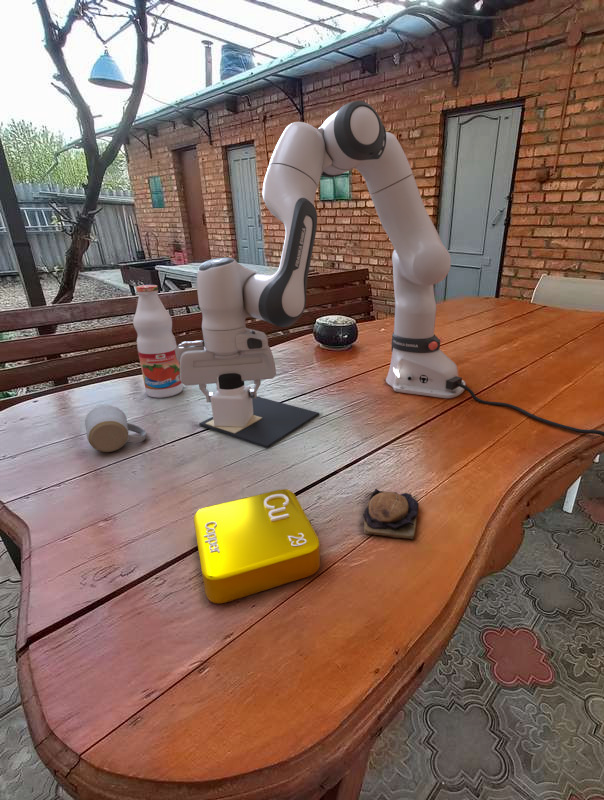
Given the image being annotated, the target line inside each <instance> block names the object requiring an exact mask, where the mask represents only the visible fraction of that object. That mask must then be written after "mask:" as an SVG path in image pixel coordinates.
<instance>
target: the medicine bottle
mask: <svg viewBox="0 0 604 800" xmlns="http://www.w3.org/2000/svg"><path fill="white" fill-rule="evenodd" d="M217 379H218V383H215V385H216V386H215V387H216V391H215V392H213V395H212V396H211V402H210V405H211V412H212V417H213V420H214V425H215V426H228V427H245V426H246V425H247V423H248V421H249V420H250V418H251V417H252V415H253V404H252V398H250V389H252V386H249V385H245V381H242V379H241V375H240V374H237V373H228V374H222V375H219V376H218V377H217Z"/></svg>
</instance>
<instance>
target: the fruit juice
mask: <svg viewBox="0 0 604 800" xmlns="http://www.w3.org/2000/svg"><path fill="white" fill-rule="evenodd" d="M135 292H136V293H137V294H138V298H137V305H136V310H135V313H134V315H133V319H132V323H133V328H134V330H135V332H136V334H137V338H136V349H137V353H138V358H139V363H140V368H141V374H142V379H143V383H144V389H145V393H146V394H147V396H148V397H151V398H156V399H157V398H161V399H162V398H168V397H173V396H176V395H178V394H180V393H181V392H182V391H183V389H184V384H183V383H182V382H181V380H180V362H179V361H178V360H177V359H176V354H175V349H176V347H177V346H178V345H177V340H176V336H175V335H174V334H173V318H172V317H171V314H170V313H169V312H168V311H167V309H166V308H165V306H164V304H163V302H162V300H161V298H160V296H159V294H158V293H159V287H158V285H156V284H143V285H141V284H140V285H137V286H136V287H135Z"/></svg>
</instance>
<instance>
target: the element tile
mask: <svg viewBox="0 0 604 800" xmlns="http://www.w3.org/2000/svg"><path fill="white" fill-rule="evenodd" d="M193 524H194V531H195V538H196V543H197V550H198V557H199V563H200V569H201V570H200V571H201V575H202V582H203V586H204V592H205V597H206V599H208V600H209V601H210V603H213V604H226V603H230V602H233V601H236V600H238V599H242V598H245V597H248V596H251V595H254V594H257V593H261V592H263V591H267V590H270V589H273V588H276V587H279V586H283V585H286V584H289V583H292V582H295V581H298V580H302V579H304V578H305V579H306V578H308V577H311V576H312V575H315V574H316V573H317V572H318V571H319V568H320V566H321V552H320V550H321V549H320V547H321V545H320V538H319V537H318V535H317V532H316V531H315V530H314V527H313V526H312V524H311V522H310V520H309V518H308V516H307V514H306V513H305V511H304V508H303V507H302V505H301V503H300V502H299V500H298V497H297V495H296V494H295V493H294V492H293V491H291V490H290V489H287V488H283V489H282V488H281V489H276V490H272V491H268V492H264V493H259V494H254V495H250V496H247V497H242V498H238V499H234V500H230V501H225V502H220V503H216V504H213V505H208V506H205V507H201V508H200V509H198V510H197V511H196V512H195V513H194V516H193Z"/></svg>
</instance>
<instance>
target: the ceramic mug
mask: <svg viewBox="0 0 604 800" xmlns="http://www.w3.org/2000/svg"><path fill="white" fill-rule="evenodd" d="M84 425H85V431H86V438H87V441H88V443H89V445H90V446H91V447H92V448H93V449H94V450H96V451H98V452H102V453H112V452H115V451H118V450H120V449H121V448H123V447H124V446H125V444H126V443H142V442H144V441H145V440H146V436H147V430H146V429H144V428H143V427H141V426H140V425H136V424H134V423H129V422H128V419H127V416H126V414H125V412H124V411H123V410H122V409H120V408H119V407H117V406H114V405H109V404H103V405H99V406H96V407H93V408H92V409H91V410H89V411H88V413H87V414H86V416H85V419H84ZM129 432H132V433H136V434H138V435H134V434H133V435H132V434H129Z"/></svg>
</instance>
